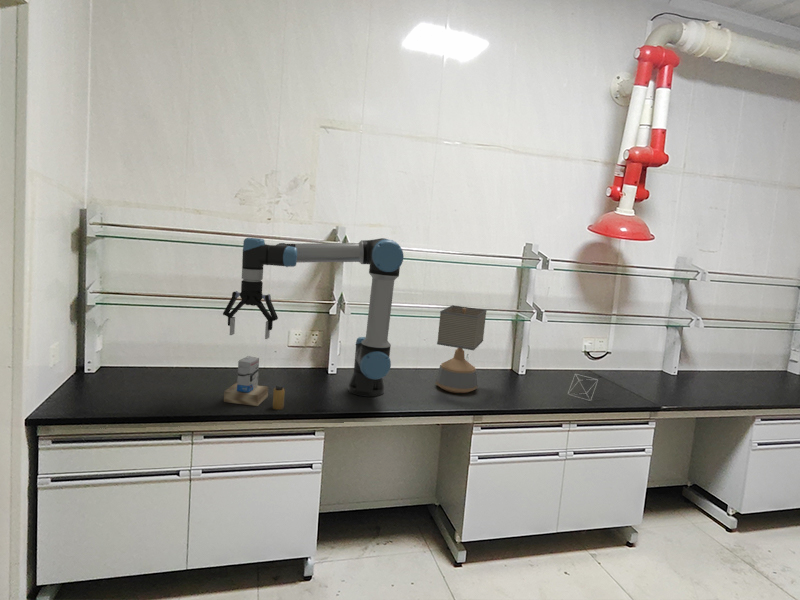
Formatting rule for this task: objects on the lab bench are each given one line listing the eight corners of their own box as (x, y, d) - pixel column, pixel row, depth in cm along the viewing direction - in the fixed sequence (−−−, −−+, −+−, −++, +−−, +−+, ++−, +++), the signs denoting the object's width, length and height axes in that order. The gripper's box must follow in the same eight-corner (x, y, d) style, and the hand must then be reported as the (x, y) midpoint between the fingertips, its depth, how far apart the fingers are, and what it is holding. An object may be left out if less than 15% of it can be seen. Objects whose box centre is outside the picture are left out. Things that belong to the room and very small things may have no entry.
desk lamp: (471, 399, 229) (481, 314, 223) (428, 391, 235) (437, 308, 229) (481, 386, 249) (490, 308, 244) (441, 378, 255) (449, 302, 250)
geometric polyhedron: (575, 390, 256) (577, 372, 255) (598, 396, 249) (600, 378, 248) (564, 396, 246) (567, 376, 245) (588, 402, 240) (591, 382, 238)
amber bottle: (285, 406, 201) (286, 385, 200) (281, 410, 197) (282, 388, 196) (274, 405, 201) (275, 384, 200) (271, 408, 197) (272, 387, 196)
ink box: (248, 393, 200) (250, 362, 198) (236, 391, 200) (237, 360, 199) (258, 386, 208) (259, 357, 206) (246, 385, 209) (247, 355, 207)
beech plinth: (267, 396, 210) (268, 386, 209) (257, 405, 199) (258, 395, 198) (235, 392, 211) (235, 382, 210) (223, 401, 200) (224, 391, 199)
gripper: (288, 282, 201) (285, 337, 204) (223, 276, 203) (221, 330, 206) (281, 284, 193) (278, 342, 196) (215, 277, 195) (213, 334, 199)
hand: (249, 336), depth 201 cm, fingers open, 13 cm apart
